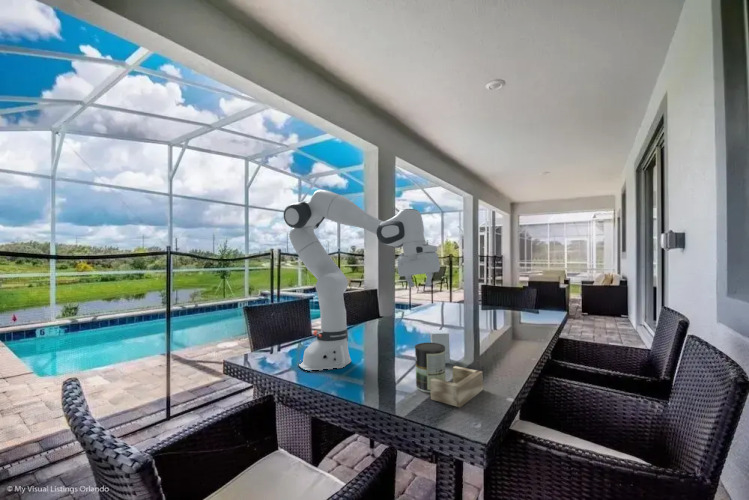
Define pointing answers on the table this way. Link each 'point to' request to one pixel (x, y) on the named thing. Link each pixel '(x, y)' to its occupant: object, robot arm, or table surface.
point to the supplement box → (442, 341)
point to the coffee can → (429, 364)
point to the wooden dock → (457, 387)
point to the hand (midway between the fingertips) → (419, 286)
